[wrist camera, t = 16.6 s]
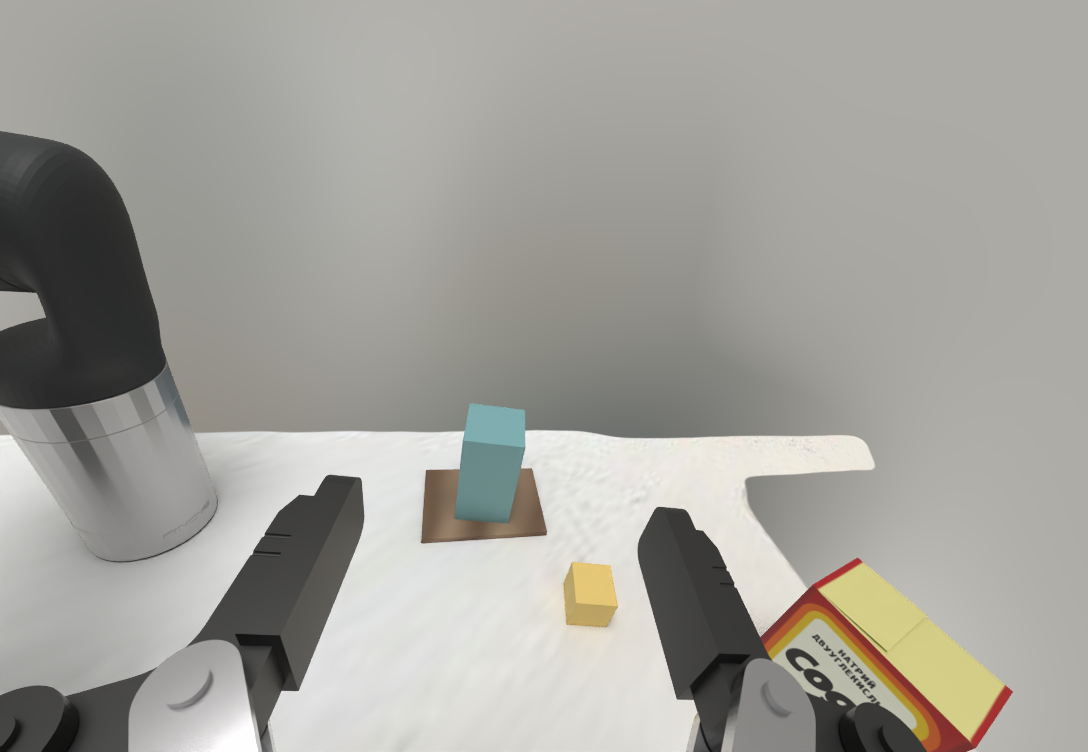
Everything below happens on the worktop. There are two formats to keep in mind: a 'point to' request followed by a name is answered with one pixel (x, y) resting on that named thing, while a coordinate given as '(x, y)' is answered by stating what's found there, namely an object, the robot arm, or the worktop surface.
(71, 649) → the worktop surface
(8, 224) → the robot arm
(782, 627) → the baking soda box
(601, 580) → the small yellow cube
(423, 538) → the mat
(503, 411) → the tall teal block
